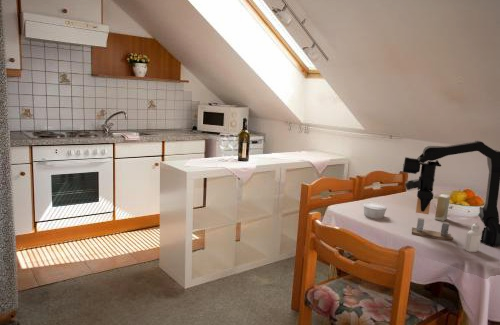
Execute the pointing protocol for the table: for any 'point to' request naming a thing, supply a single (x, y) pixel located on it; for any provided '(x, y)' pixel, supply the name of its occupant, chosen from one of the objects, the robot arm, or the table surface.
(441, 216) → the skincare box
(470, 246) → the eye dropper bottle
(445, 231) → the near post
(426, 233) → the board
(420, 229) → the far post
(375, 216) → the ramekin
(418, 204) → the orange block
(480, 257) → the table surface
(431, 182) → the robot arm
